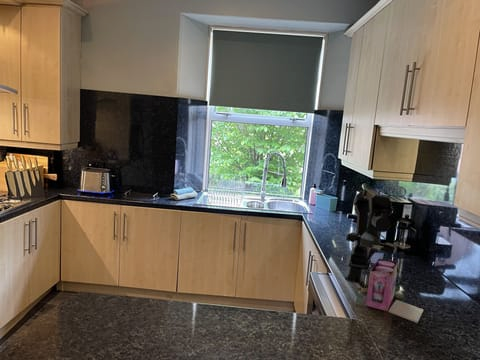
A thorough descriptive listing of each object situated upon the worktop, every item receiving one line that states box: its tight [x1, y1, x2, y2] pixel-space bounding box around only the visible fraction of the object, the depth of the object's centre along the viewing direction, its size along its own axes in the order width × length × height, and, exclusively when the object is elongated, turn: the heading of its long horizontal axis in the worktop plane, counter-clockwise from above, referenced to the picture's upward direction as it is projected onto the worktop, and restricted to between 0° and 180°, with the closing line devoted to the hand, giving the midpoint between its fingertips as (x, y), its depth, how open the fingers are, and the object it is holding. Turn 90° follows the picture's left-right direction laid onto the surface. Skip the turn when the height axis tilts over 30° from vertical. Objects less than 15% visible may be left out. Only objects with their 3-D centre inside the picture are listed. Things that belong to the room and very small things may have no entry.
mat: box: [387, 299, 424, 324], centre depth 138 cm, size 14×10×1 cm
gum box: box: [365, 258, 398, 312], centre depth 143 cm, size 24×8×14 cm, turn 150°
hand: (366, 262), depth 148 cm, fingers closed
